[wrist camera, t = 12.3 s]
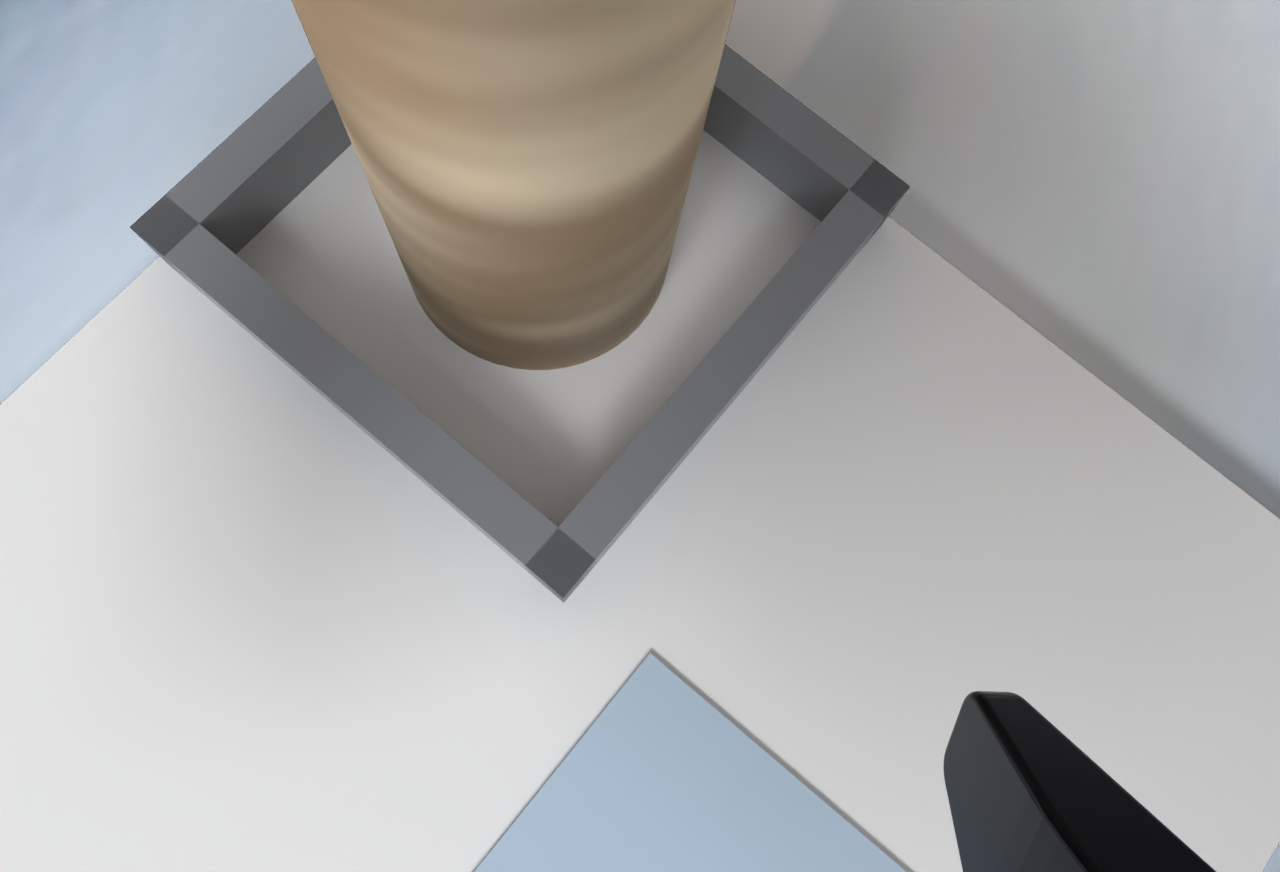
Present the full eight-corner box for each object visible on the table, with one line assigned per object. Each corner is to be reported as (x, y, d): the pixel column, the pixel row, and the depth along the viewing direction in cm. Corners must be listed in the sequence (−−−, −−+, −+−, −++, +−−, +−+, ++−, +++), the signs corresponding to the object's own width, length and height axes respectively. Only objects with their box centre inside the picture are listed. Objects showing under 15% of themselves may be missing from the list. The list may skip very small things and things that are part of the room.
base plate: (1365, 621, 18) (1486, 616, 16) (778, 1600, 14) (821, 1795, 12) (517, -40, 20) (509, -134, 18) (-214, 650, 16) (-353, 651, 14)
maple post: (721, 234, 18) (1068, -731, 6) (552, 424, 17) (506, -243, 4) (525, 79, 19) (435, -1134, 6) (347, 255, 18) (-218, -787, 5)
